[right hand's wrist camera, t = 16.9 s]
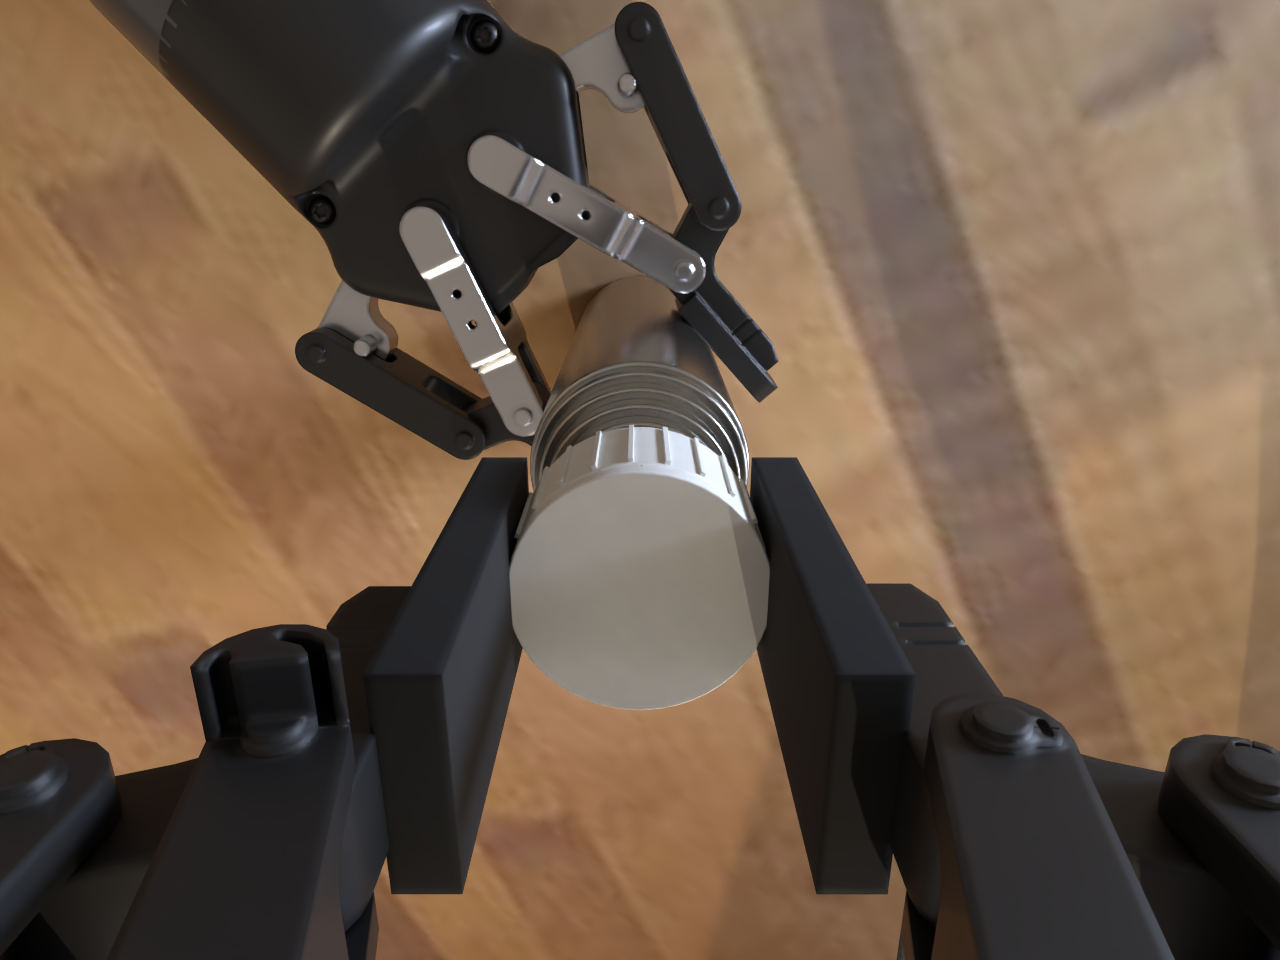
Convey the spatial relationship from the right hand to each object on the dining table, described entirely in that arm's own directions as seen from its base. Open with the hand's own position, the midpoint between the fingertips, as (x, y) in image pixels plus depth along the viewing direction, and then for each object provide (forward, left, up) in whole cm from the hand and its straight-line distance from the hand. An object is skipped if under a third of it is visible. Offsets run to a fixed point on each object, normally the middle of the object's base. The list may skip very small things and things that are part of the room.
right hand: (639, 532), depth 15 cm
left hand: (-1, +2, -11) cm, 12 cm away
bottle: (0, 0, -18) cm, 18 cm away
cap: (0, 0, +2) cm, 2 cm away
